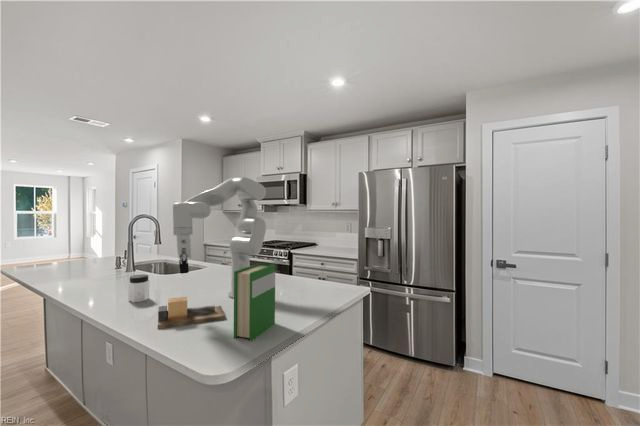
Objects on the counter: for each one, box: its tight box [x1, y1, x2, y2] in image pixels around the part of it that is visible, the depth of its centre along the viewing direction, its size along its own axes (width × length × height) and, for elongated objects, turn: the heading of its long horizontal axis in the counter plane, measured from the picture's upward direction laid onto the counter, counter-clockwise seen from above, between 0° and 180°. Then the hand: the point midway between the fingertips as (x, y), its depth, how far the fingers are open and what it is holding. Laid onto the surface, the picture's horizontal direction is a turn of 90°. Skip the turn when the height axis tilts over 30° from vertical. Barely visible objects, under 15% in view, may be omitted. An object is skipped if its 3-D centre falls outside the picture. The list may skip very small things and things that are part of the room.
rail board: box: [157, 304, 226, 329], centre depth 127 cm, size 25×14×6 cm, turn 116°
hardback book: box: [233, 262, 276, 342], centre depth 115 cm, size 18×7×24 cm, turn 161°
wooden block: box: [167, 296, 188, 320], centre depth 124 cm, size 7×6×7 cm
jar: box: [128, 273, 150, 303], centre depth 151 cm, size 9×8×12 cm
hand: (183, 270), depth 130 cm, fingers open, 9 cm apart
